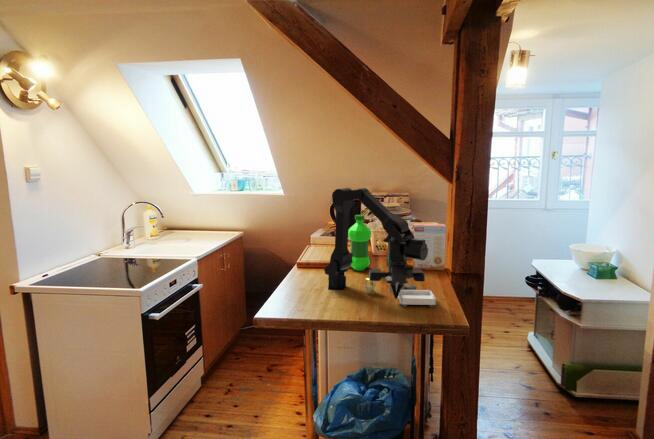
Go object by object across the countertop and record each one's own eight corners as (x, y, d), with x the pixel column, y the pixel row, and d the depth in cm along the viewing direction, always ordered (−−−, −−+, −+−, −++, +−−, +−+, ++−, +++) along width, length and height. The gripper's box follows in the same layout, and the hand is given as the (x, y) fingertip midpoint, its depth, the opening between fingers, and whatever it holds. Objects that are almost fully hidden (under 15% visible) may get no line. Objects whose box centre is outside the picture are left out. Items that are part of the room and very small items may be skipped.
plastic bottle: (348, 265, 186) (348, 213, 182) (370, 266, 185) (371, 213, 181) (347, 271, 176) (347, 217, 172) (370, 272, 175) (371, 217, 171)
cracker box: (443, 267, 182) (445, 223, 179) (444, 271, 177) (446, 225, 173) (412, 265, 185) (414, 222, 182) (412, 269, 180) (414, 224, 176)
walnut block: (393, 296, 146) (394, 280, 145) (389, 292, 150) (390, 277, 149) (403, 295, 147) (404, 280, 146) (399, 291, 151) (399, 276, 150)
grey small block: (405, 296, 146) (405, 288, 146) (403, 292, 150) (403, 284, 150) (416, 296, 146) (417, 288, 145) (414, 292, 150) (415, 284, 150)
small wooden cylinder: (365, 295, 147) (365, 280, 146) (364, 291, 151) (364, 276, 150) (375, 295, 147) (376, 280, 146) (375, 291, 151) (375, 276, 150)
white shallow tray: (400, 307, 134) (400, 298, 133) (397, 298, 143) (397, 289, 142) (435, 308, 133) (436, 299, 133) (430, 298, 142) (430, 290, 142)
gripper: (371, 261, 128) (370, 306, 131) (428, 262, 127) (427, 307, 130) (369, 253, 139) (368, 294, 142) (422, 253, 138) (420, 295, 141)
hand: (395, 298), depth 138 cm, fingers closed
